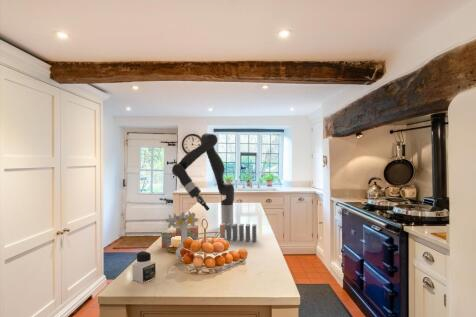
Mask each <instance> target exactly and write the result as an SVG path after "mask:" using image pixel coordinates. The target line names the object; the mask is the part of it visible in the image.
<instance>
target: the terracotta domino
mask: <svg viewBox="0 0 476 317" xmlns="http://www.w3.org/2000/svg"><path fill="white" fill-rule="evenodd" d="M220 238H225V239H226V228H225V223H222V224H219V239H220Z"/></svg>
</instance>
